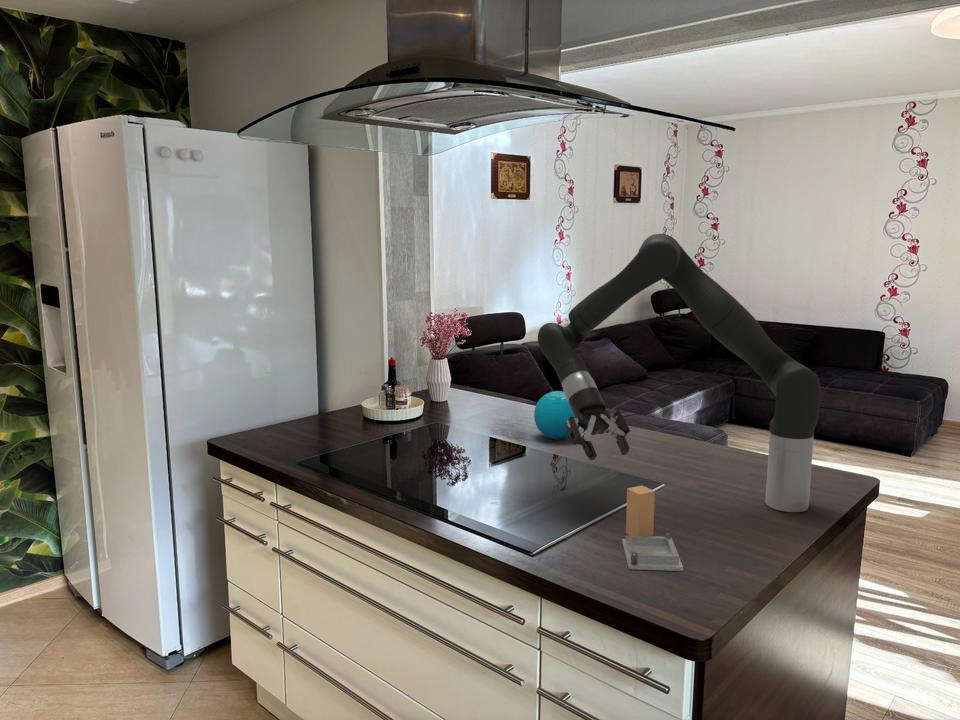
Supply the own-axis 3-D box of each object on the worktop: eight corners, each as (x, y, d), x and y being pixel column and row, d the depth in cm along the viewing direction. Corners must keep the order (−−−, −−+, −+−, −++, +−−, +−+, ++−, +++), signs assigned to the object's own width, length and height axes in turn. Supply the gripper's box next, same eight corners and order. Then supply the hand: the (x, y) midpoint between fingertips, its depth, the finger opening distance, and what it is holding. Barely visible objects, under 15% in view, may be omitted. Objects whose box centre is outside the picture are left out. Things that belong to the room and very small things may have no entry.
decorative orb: (569, 448, 211) (570, 399, 208) (525, 441, 218) (525, 393, 216) (589, 436, 223) (590, 389, 221) (547, 429, 231) (547, 384, 228)
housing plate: (622, 542, 145) (622, 530, 145) (671, 543, 144) (672, 531, 144) (628, 569, 133) (629, 556, 133) (683, 571, 132) (683, 558, 132)
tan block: (626, 533, 150) (627, 488, 148) (641, 529, 151) (642, 485, 149) (637, 540, 146) (638, 494, 144) (653, 536, 148) (654, 491, 146)
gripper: (562, 389, 159) (590, 451, 150) (615, 383, 165) (644, 443, 156) (550, 407, 164) (576, 468, 156) (601, 400, 170) (629, 459, 162)
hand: (610, 455), depth 156 cm, fingers open, 8 cm apart
